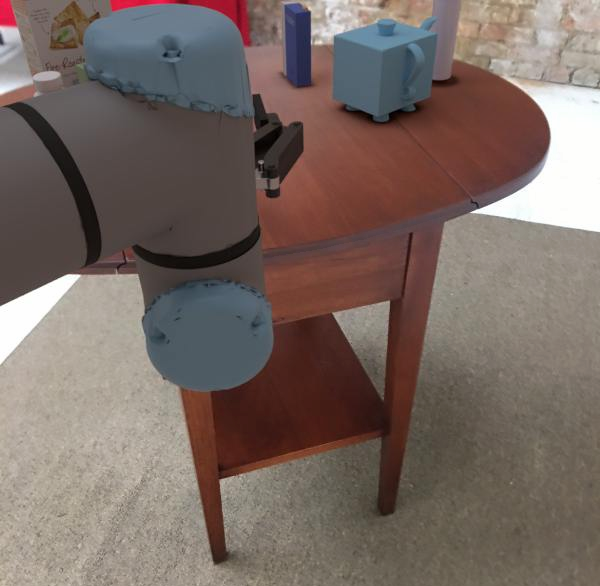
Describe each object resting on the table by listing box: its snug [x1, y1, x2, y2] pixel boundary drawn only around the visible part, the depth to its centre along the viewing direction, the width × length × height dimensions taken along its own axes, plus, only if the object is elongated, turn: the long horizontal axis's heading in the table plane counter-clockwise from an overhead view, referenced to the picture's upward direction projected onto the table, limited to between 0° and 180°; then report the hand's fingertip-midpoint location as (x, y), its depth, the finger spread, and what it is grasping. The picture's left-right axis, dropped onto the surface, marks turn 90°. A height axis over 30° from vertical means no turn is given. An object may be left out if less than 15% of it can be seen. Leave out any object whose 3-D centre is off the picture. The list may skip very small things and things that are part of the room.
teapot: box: [332, 16, 438, 123], centre depth 102 cm, size 18×16×13 cm
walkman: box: [280, 0, 312, 88], centre depth 111 cm, size 8×3×12 cm, turn 20°
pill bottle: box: [31, 71, 64, 97], centre depth 94 cm, size 5×5×10 cm
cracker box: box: [9, 0, 113, 93], centre depth 101 cm, size 14×6×21 cm, turn 132°
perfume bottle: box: [430, 0, 462, 81], centre depth 107 cm, size 6×6×20 cm
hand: (187, 114), depth 62 cm, fingers open, 13 cm apart
